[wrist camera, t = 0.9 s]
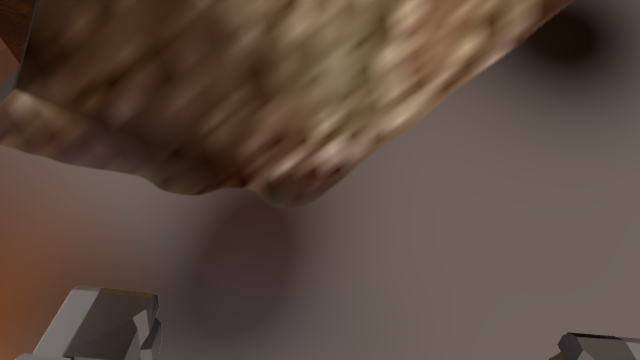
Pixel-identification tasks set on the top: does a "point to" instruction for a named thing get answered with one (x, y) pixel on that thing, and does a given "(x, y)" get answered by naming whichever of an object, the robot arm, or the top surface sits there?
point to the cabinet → (14, 40)
